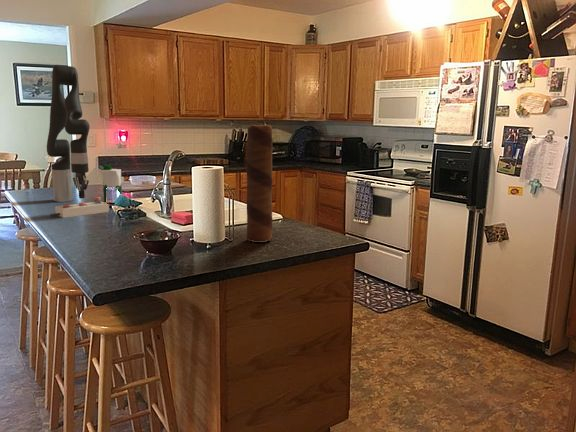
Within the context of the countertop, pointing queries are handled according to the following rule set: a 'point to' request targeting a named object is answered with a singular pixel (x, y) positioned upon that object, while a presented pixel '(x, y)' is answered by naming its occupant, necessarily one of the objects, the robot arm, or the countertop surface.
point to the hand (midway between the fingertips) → (81, 198)
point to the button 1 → (66, 206)
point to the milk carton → (111, 179)
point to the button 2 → (82, 204)
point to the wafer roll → (259, 182)
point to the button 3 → (97, 199)
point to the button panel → (81, 209)
